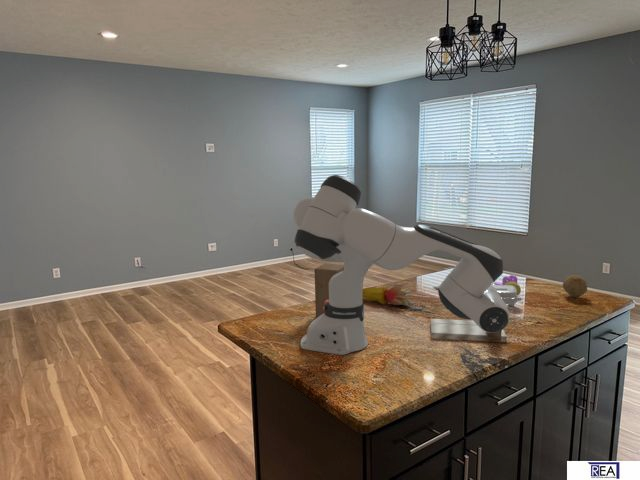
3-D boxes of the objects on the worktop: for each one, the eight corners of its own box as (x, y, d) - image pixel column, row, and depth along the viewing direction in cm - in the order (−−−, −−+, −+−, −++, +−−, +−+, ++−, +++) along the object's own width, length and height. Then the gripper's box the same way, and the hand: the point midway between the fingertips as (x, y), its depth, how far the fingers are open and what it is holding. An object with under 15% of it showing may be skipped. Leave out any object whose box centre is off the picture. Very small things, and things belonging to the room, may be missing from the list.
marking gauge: (488, 341, 147) (489, 302, 145) (483, 328, 158) (484, 292, 156) (501, 342, 146) (502, 302, 144) (495, 329, 157) (496, 292, 155)
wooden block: (315, 318, 176) (313, 268, 172) (325, 310, 185) (324, 263, 181) (338, 321, 171) (337, 270, 168) (348, 313, 180) (347, 264, 177)
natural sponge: (556, 295, 195) (558, 273, 193) (571, 293, 198) (572, 271, 197) (575, 301, 187) (577, 278, 185) (590, 298, 190) (592, 275, 188)
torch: (361, 306, 200) (414, 307, 186) (353, 302, 194) (407, 303, 180) (363, 288, 203) (416, 288, 189) (355, 283, 196) (408, 283, 183)
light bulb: (523, 306, 182) (525, 282, 180) (511, 309, 180) (512, 284, 178) (511, 302, 188) (512, 279, 187) (498, 304, 186) (499, 281, 184)
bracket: (516, 290, 205) (517, 275, 204) (508, 292, 202) (509, 277, 201) (493, 284, 216) (493, 270, 215) (485, 286, 213) (485, 272, 212)
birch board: (431, 338, 153) (431, 332, 152) (430, 323, 166) (430, 318, 166) (506, 342, 147) (506, 336, 147) (499, 326, 161) (499, 321, 161)
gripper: (524, 289, 121) (512, 276, 134) (445, 288, 125) (441, 274, 138) (522, 312, 122) (511, 296, 135) (445, 309, 126) (441, 294, 139)
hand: (475, 285), depth 137 cm, fingers open, 8 cm apart
